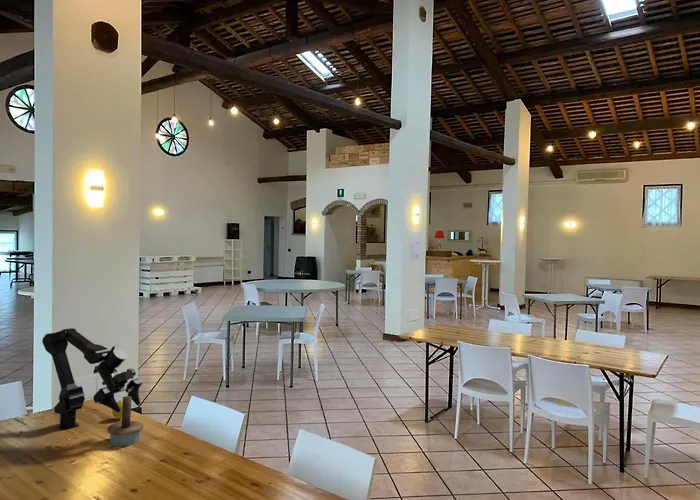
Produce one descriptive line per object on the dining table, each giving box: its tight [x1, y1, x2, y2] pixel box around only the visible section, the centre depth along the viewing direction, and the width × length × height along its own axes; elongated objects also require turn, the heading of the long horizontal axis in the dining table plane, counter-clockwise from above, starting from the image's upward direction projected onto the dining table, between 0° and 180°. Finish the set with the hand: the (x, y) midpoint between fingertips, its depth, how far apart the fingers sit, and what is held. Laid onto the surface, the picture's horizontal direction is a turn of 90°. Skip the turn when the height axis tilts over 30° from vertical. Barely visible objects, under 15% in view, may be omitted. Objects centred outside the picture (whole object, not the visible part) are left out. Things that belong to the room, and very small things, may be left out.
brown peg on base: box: [107, 395, 144, 435], centre depth 180 cm, size 12×12×12 cm
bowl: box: [109, 430, 141, 447], centre depth 180 cm, size 10×10×4 cm
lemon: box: [111, 400, 123, 420], centre depth 202 cm, size 6×6×8 cm
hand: (129, 408), depth 179 cm, fingers open, 9 cm apart
